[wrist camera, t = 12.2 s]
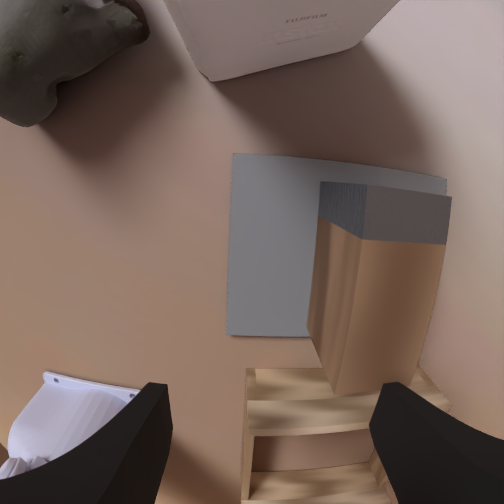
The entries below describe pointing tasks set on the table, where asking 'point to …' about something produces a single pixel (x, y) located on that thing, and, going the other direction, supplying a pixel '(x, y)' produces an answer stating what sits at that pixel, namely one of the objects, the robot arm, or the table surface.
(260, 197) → the slate mat
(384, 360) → the brown and grey block
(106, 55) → the rock
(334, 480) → the wooden cubby shelf
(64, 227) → the table surface
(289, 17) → the photo printer
